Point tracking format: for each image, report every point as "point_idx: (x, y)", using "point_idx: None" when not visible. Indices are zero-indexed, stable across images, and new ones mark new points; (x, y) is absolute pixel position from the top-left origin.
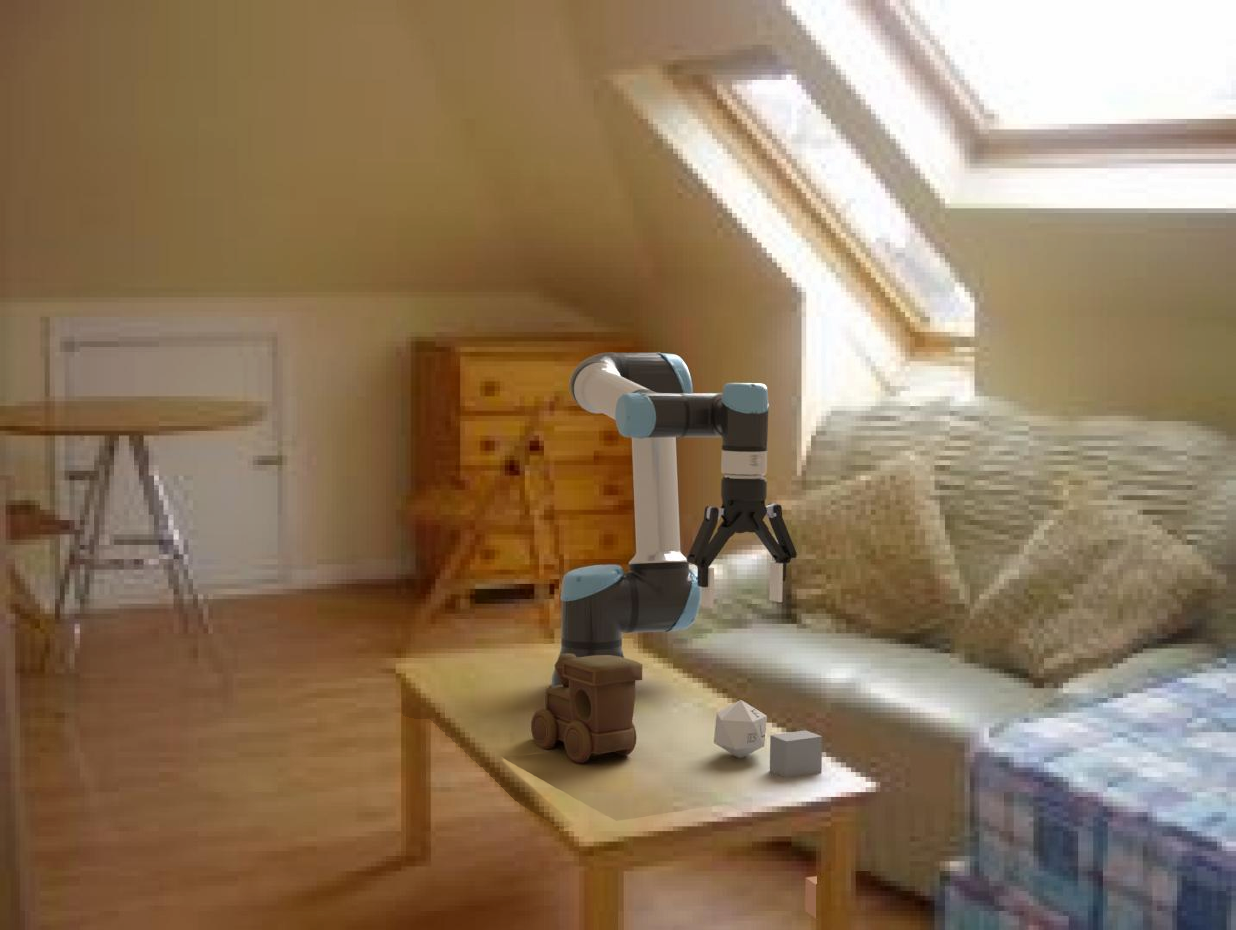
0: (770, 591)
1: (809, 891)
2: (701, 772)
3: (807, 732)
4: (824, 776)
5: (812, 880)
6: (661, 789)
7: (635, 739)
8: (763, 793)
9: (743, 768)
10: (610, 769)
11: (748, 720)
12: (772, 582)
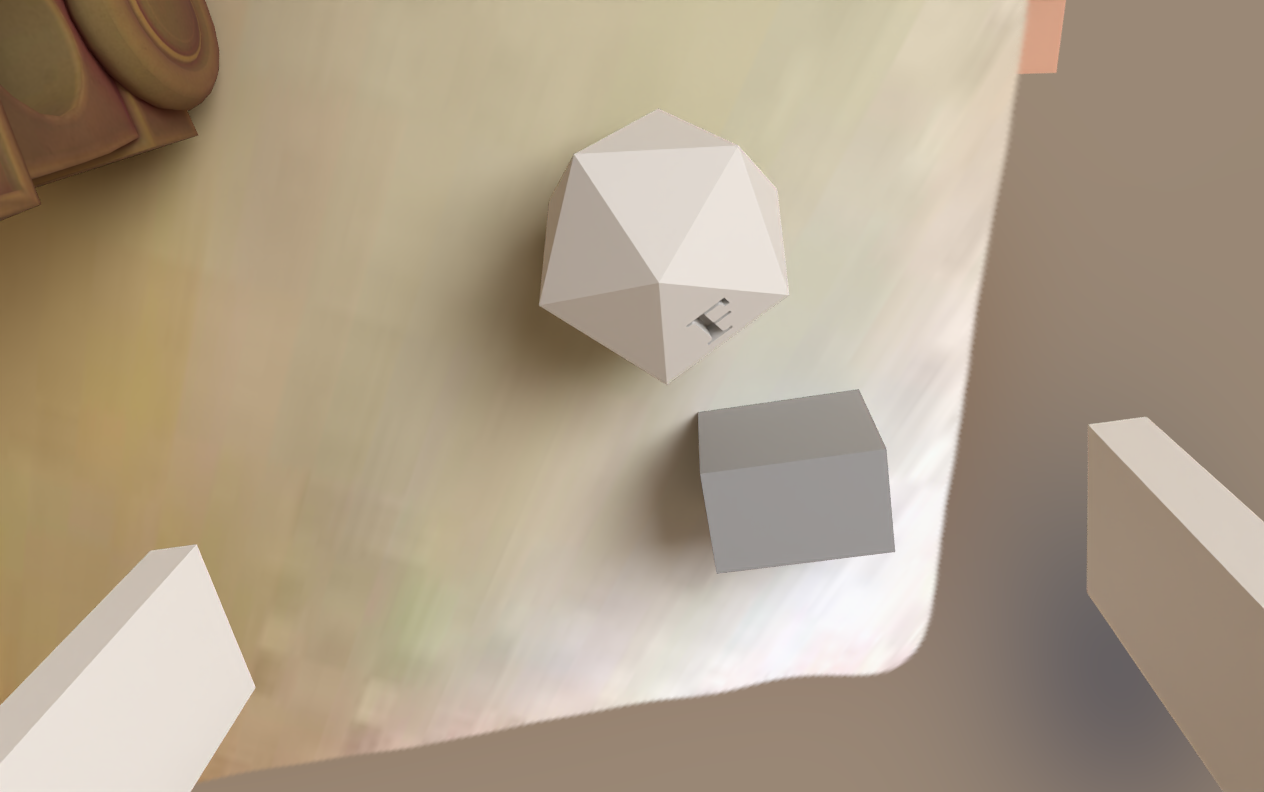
0: (1137, 496)
1: None
2: (448, 354)
3: (873, 482)
4: None
5: None
6: (258, 497)
7: (197, 102)
8: (564, 623)
9: None
10: (117, 214)
11: (652, 370)
12: (1202, 613)
